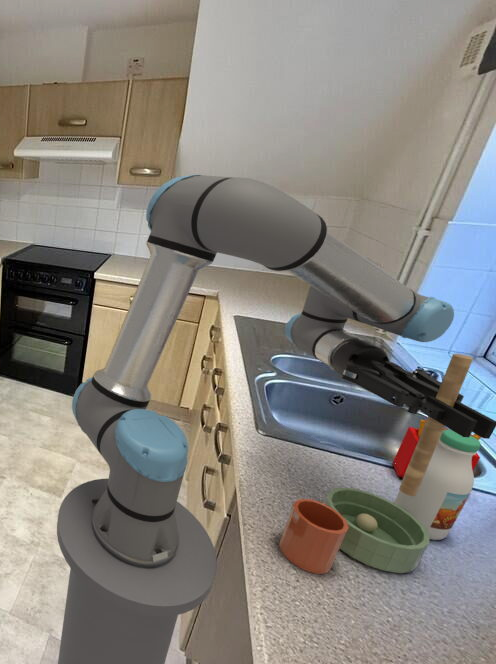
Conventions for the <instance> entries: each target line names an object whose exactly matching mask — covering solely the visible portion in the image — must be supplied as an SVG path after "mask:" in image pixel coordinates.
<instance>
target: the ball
mask: <svg viewBox="0 0 496 664" xmlns="http://www.w3.org/2000/svg"><path fill="white" fill-rule="evenodd" d="M355 521H356V524H357V525H358V527H359V528H361V529H362V530H364V531H368V532H372V531H375V530H376V529H377V527H378V524H377V521H376V520H375V519H374V518H373V517H372V516H370V515H368V514H359V515H357V516H356V519H355Z"/></svg>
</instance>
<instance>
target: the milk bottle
mask: <svg viewBox="0 0 496 664" xmlns="http://www.w3.org/2000/svg"><path fill="white" fill-rule="evenodd" d="M481 446H482V443H481V442H480V440H479V441H478V440H477V439H476V438H474V437H472V436H470V437H462V436H461V435H459V434H457V433H456V432H454V431H452V430H451V429H448V430H444V431H443V432H442V435H441V437H440V439H439V444H438V445H437V447H436V449H435V451H434V454H433V456H432V458H431V461H430V463H429V466H428V468H427V470H426V473H425V475H424V478H423V480H422V482H421V485H420V487H419V489H418V492H417V494H416V496H409V495H406V494H404V493H402V492H401V491H400V490H399V491H398V493H397V495H396V496H395V498H394V501H393V503H394V504H396V505H398V506H400V507H401V508H403V509H404V510H406V511H407V512H408V513H410V514H411V515H412V516H414V517H415V518H416V519H417V520H418V521H419V522H420V523H421V524H422V525H423V526H424V527H425V529H426V530H427V532H428V534H429V536H430V540H433V541H440V540H443V539H446V538H447V536H448V535H449V533H450V532H451V530H452V529H453V526H454V525H455V523H456V521H457V519H458V518H459V515H460V514H461V512H462V510H463V508H464V506H465V504H466V502H467V501H468V500H469V497H470V495H471V494H472V493H471V492H472V491H473V487H474V483H475V476H474V470H473V471H472V463H471V462H472V456H473V455H476V452H478V451H479V450H480V448H481Z"/></svg>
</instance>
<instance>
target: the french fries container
mask: <svg viewBox="0 0 496 664" xmlns="http://www.w3.org/2000/svg"><path fill="white" fill-rule="evenodd" d="M426 420H427V419H420V421H419V426H418V427H419V428H416V427H413V426H409V427H408V428H407V429H406V433H405V434H404V436H403V439H402V441H401V442H400V445H399V447H398V449H397V451H396V454H395V456H394V458H393V460H392V462H391V463H392V465H393V468H394V471H395V473H396V475H397V478H401V479H403V477H404V475H405V472H406V470H407V467H408V465H409V463H410V460H411V458H412V455H413V453H414V450H415V448H416V445H417V443H418V440H419V438H420V435H421V433H422V430H423V428H424V425H425V423H426ZM444 430H449V428H447V427H444ZM444 430H443V431H444ZM470 436H472V437H474V438H476V439H477V440H478V441H480V440H481V439H482V437H480V436H479V435H477V434H475V433H474V434H472V433H471V435H470ZM438 444H439V442H438ZM438 444H437V445H438ZM477 452H478V451H477ZM477 452H476V455H473V456H472V462H471V463H472V471H473V472H474V470H475V468H476V466H477V464H478V463H479V460H480V459H481V456H480V455H479V453H477ZM395 463H396V464H395Z"/></svg>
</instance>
